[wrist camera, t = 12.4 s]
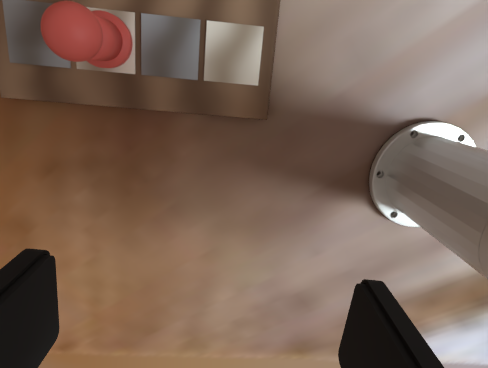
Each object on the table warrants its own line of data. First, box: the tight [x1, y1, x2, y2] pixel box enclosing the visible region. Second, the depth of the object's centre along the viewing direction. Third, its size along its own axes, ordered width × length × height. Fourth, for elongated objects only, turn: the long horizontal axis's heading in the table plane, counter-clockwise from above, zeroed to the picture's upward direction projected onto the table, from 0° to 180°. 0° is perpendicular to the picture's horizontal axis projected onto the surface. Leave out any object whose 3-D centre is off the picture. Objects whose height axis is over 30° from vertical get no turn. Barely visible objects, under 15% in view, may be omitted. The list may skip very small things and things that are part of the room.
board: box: [0, 0, 280, 120], centre depth 32 cm, size 26×12×1 cm, turn 85°
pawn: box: [40, 1, 133, 68], centre depth 27 cm, size 5×5×10 cm
